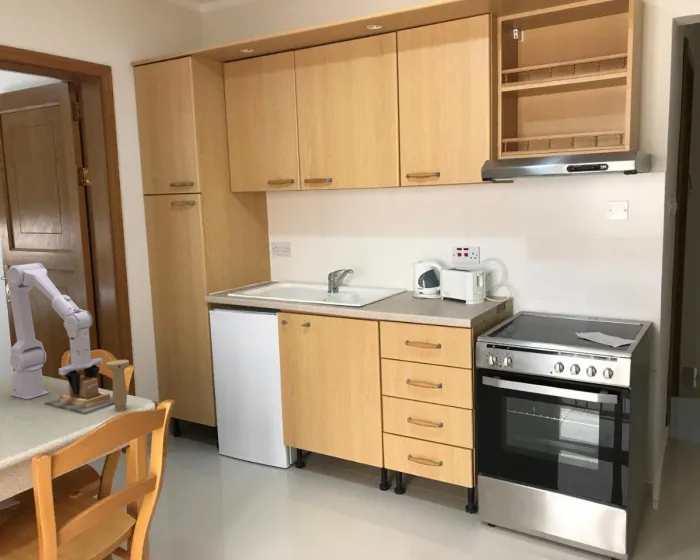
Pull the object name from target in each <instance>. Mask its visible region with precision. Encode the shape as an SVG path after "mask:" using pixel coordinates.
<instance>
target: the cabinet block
mask: <svg viewBox="0 0 700 560" xmlns="http://www.w3.org/2000/svg"><path fill="white" fill-rule="evenodd" d="M79 388H80V391H79V394H73V391H72V388H71V385H70V383H69V382H68V393H69V395H70V396H73V397H78V398H82V399H86V400H89V399H92V398H95V397H98V396H99V394H98V391H99V381H98V378H97V377H96V378H92V377H87V376H85V375H82V374H81V376H80V381H79Z"/></svg>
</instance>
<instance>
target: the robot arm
mask: <svg viewBox="0 0 700 560" xmlns="http://www.w3.org/2000/svg"><path fill="white" fill-rule="evenodd" d="M5 273H6V281H7V285H8V287H7V288H8V290H9V291H8V293H9V297H10V303H11V304H10V305H11V310H12V316H13V322H14V330H15V338H16V342H15V343H14V344H13V345H12V347H11V348H10V357H9V362H10V363H9V364H10V367H11V368H12V369H13V370H14V371H13V372H12V374H11V375H12V376H11V382H12V393H10V396H11V397H12V396H13V397H15V398H19V399H25V400H31V399H34V398H38V397H40V396H44V395H46V394H50V391H48V390H44V384H43V383H44V381H43V380H44V379H43V370H42V369H43V367H44V364H45V363H46V361H47V358H48V357H47V352H46V351H45V349H44V344H43V342H42V341H40V340H38V339H37V338H36V332H35V327H34V320H33V314H32V308H31V307H32V306H31V301H30V295H29V292H31V290H32V288H33V287H36V288H37V289H38V290H39V291H40V292H41V293H43V295H45V296H46V298H48V299H49V300H50V301H51V307H52V309H53V310H54V311H55V312H56V313H57V314H58V316H59V317H60V318H61V319H62V320H63V321H64V322H63V326H64V328H65V330H66V333H67V336H68V338H69V348H70V362H71V363H70V364H68V365H67V364H66V365H65V366H63V367H60V368H58V375H60V376H64V377H65V379H66V380H67V381H68V382H67V383H68V384H69V383H70V385H71V388H72V391H73V394H79V391H80V388H79V381H80V376H81V375H82V374H81V373H78V371H81V370H83V372H84V376H87V377H92V378H97V376H98V374H99V372H100V369H101V368H100V367H99V366H101V365H104V358H101V357H97V358H92V356H91V343H90V342H91V341H90V330H89V329H90V327H92V325H93V317H92V314H91V313H90V311H88V310H83V309H82V308H79V306H77V304H76V303H75V302H74V301H73V300H72V298H71V297H70V296H69V295H67V294H62V293H61V292H60V291H59V290H58V288H57V287H56V286H55V284H54V283H53V282H52V281H51V279H50V278H49V276H48V269H46V268H45V266H44V265H43V264H42V263H40V262H33V263H26V264H25V263H24V264H15V265H11V266H10V267H9V268H8V270H7V271H6V272H5ZM91 358H92V359H91Z"/></svg>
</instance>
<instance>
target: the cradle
mask: <svg viewBox="0 0 700 560" xmlns="http://www.w3.org/2000/svg"><path fill="white" fill-rule="evenodd" d="M98 394H99V396H98V397H95V398H92V399H89V400H86V399H82V398H78V397H73V396H70V395H69V394H63V393H62V394H60V395H59V397H57V398H53V399H50V400H46V401H44V405H45V406H48V407H49V406H50V407H54V408H57V407H58V408H57V409H61V408H62V410H65V409H67V410H66V411H69V410H70V411H69V412H73V411H74V413H77V412H78V414H81V413H82V414H81V415H85V414H86V415H88V413H89V414H91V413H95V412H98V411H99V409H100V410H103V409H106V408H108V407H111V406H114V405H113V404H114V400H113V395H111V394H110V393H108V392H102V391H99V390H98ZM110 405H111V406H110ZM107 406H108V407H107ZM105 407H106V408H105ZM102 408H103V409H102Z"/></svg>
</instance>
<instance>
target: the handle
mask: <svg viewBox="0 0 700 560" xmlns="http://www.w3.org/2000/svg"><path fill="white" fill-rule="evenodd" d="M129 366H130V361H129V360H128V359H118V360H112V361H107V362H106V368H107V369H109V370H111V373H112V396H113V400H114V405H113V406H114V409H115V411H116V412H123V411H125V410H127V399H128V395H127V394H128V393H127V392H128V391H127V385H126V377H125V376H126V375H125V369H126V368H128V367H129Z"/></svg>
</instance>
